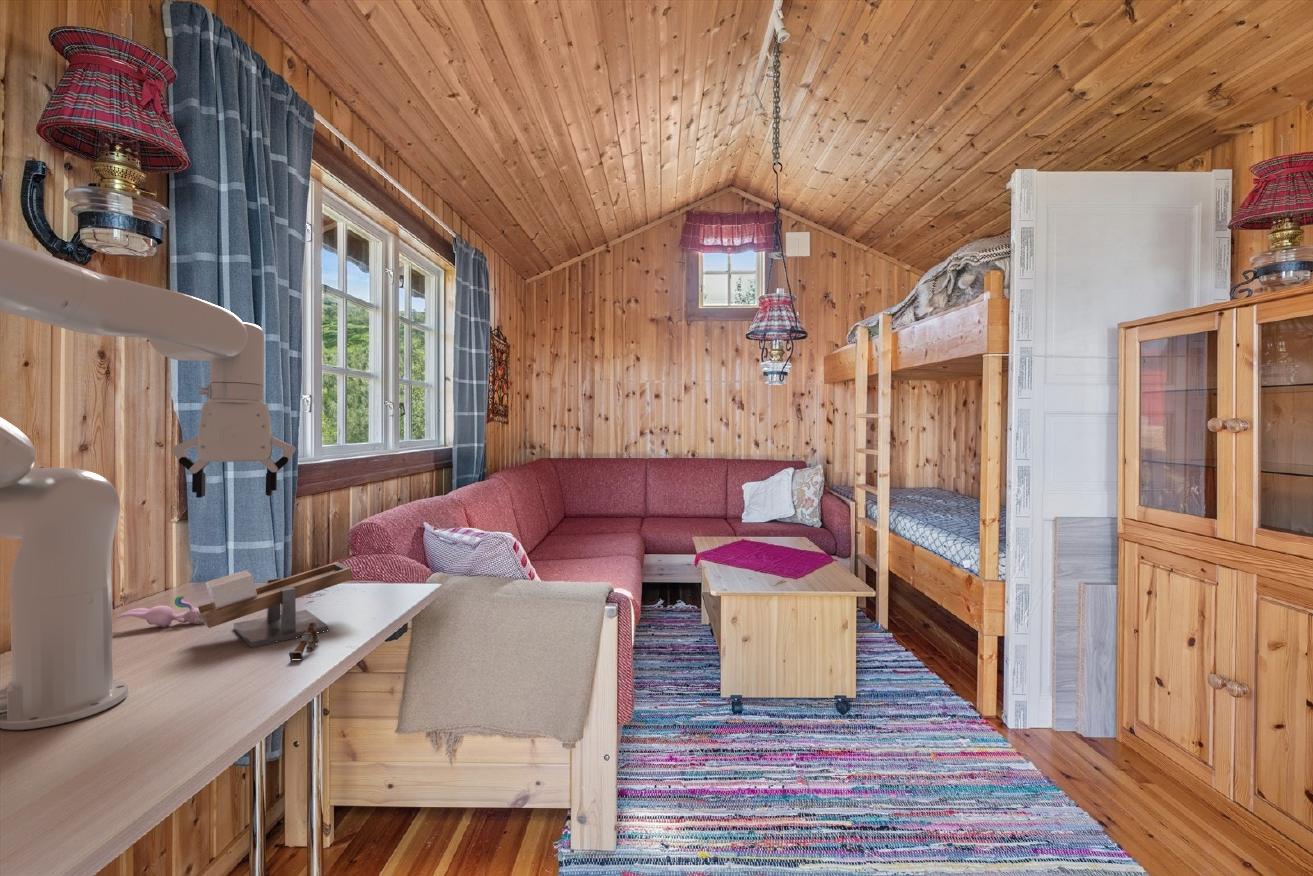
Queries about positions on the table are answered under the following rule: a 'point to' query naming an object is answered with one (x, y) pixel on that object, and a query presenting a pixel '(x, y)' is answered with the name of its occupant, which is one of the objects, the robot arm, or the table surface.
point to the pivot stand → (278, 622)
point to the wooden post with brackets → (306, 641)
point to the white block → (231, 590)
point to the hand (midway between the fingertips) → (235, 496)
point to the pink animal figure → (166, 614)
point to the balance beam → (278, 593)
